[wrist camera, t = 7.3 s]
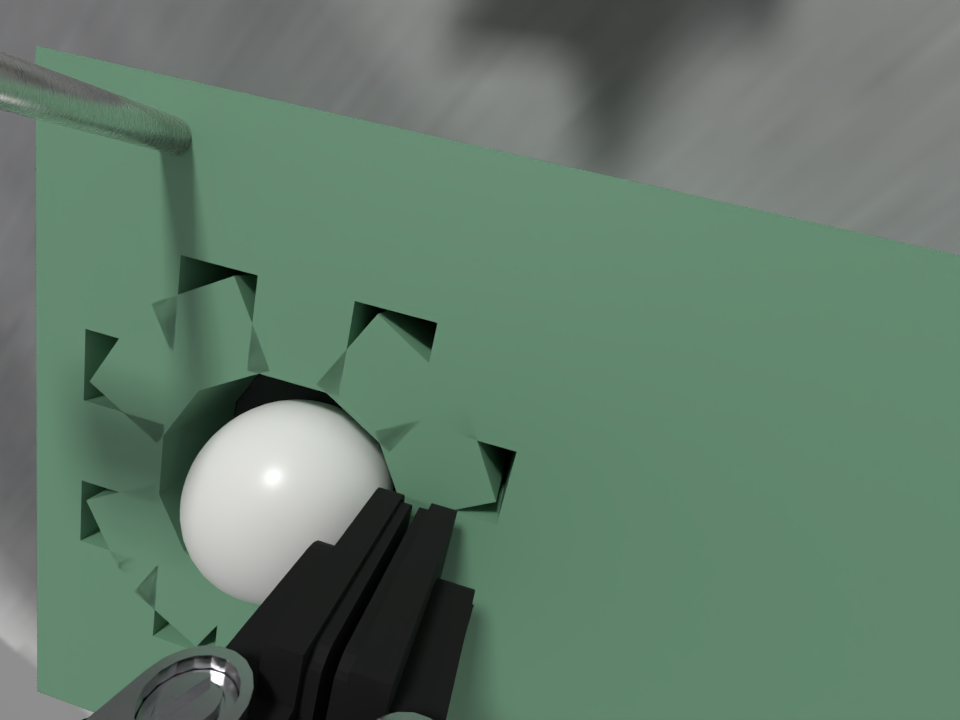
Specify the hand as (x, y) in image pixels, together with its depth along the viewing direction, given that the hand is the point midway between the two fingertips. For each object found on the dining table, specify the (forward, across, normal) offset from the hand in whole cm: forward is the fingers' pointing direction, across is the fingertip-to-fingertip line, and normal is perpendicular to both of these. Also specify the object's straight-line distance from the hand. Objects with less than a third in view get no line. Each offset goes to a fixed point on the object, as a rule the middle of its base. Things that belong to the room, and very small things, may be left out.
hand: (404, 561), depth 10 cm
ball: (+1, +3, 0) cm, 3 cm away
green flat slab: (+3, -3, 0) cm, 4 cm away
